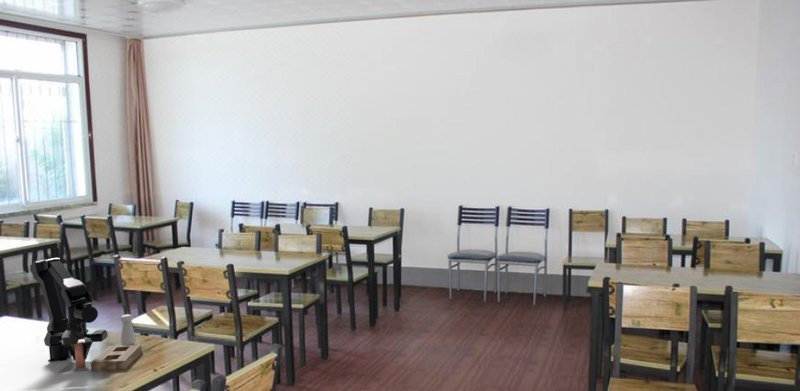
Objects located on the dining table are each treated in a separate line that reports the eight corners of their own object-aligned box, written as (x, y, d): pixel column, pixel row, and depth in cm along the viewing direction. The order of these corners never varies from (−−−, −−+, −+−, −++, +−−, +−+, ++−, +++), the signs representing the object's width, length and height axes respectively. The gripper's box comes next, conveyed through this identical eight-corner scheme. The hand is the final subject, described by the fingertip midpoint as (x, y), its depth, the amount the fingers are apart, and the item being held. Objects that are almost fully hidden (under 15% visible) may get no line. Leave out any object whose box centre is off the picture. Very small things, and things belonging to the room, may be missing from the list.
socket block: (91, 372, 222) (90, 362, 221) (110, 354, 239) (109, 346, 239) (125, 369, 223) (125, 360, 222) (141, 352, 240) (141, 344, 240)
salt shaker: (130, 349, 245) (128, 317, 244) (117, 348, 246) (115, 317, 245) (139, 344, 251) (137, 313, 250) (126, 343, 252) (124, 312, 251)
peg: (74, 368, 225) (72, 344, 224) (78, 365, 228) (76, 341, 227) (83, 367, 225) (81, 343, 225) (87, 364, 229) (85, 340, 228)
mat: (57, 373, 221) (57, 372, 221) (69, 363, 231) (69, 362, 231) (86, 371, 222) (86, 370, 222) (97, 361, 232) (97, 360, 232)
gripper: (39, 326, 216) (43, 369, 218) (94, 323, 218) (98, 366, 220) (54, 317, 227) (57, 358, 229) (106, 314, 229) (109, 355, 231)
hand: (80, 359), depth 227 cm, fingers closed on peg, 3 cm apart
